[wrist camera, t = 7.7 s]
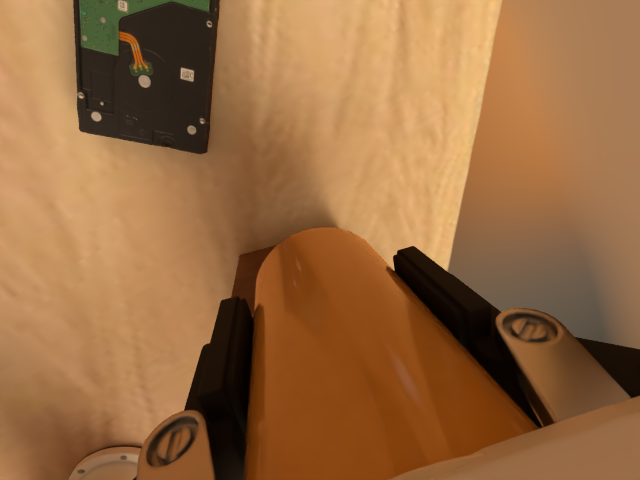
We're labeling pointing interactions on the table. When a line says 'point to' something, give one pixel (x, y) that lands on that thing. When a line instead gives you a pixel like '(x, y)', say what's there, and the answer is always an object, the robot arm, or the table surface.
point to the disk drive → (146, 70)
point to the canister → (360, 373)
